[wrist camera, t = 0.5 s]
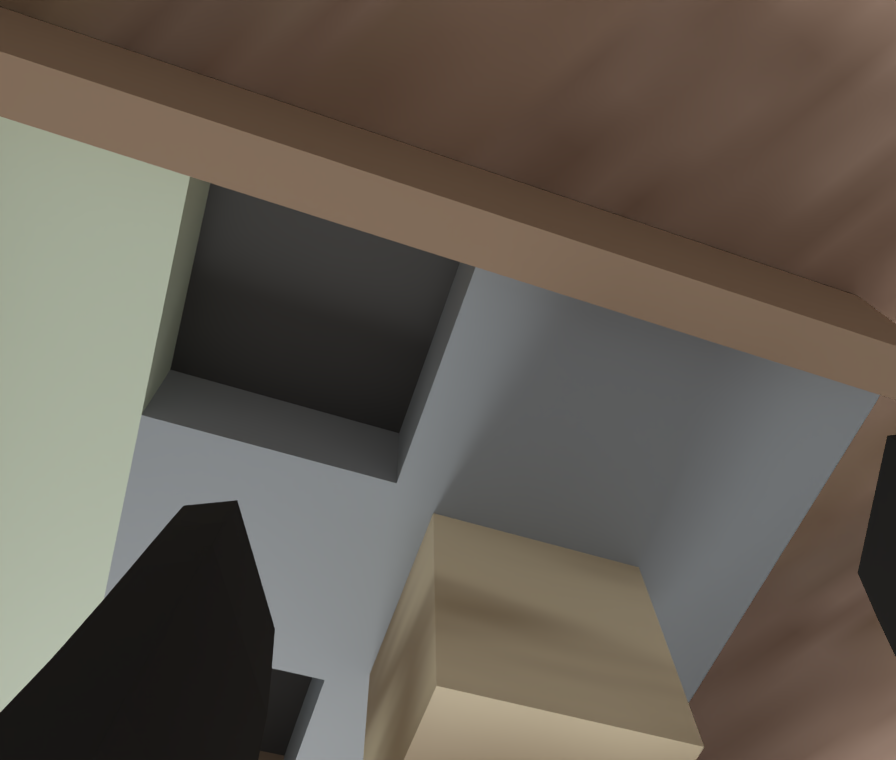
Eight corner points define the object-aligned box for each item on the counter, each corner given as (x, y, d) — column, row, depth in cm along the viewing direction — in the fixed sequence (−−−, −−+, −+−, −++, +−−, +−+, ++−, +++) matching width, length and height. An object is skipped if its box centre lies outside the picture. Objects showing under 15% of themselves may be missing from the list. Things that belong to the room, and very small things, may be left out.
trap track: (551, 825, 27) (574, 976, 23) (-104, 691, 24) (-212, 839, 20) (857, 296, 19) (973, 381, 15) (-51, -11, 16) (-212, -5, 12)
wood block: (558, 717, 21) (594, 915, 17) (369, 674, 21) (354, 870, 16) (638, 567, 19) (704, 747, 15) (433, 513, 19) (436, 685, 14)
